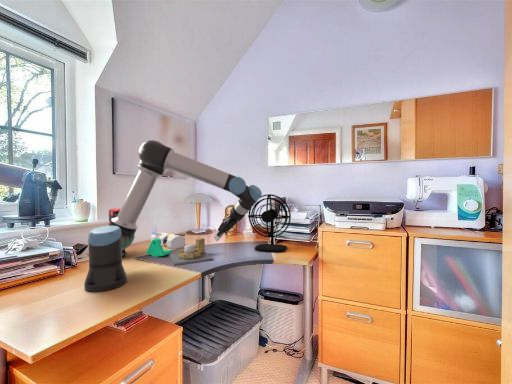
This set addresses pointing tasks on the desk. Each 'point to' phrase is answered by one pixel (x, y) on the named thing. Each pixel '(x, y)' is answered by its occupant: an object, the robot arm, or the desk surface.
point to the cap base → (180, 261)
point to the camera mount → (157, 248)
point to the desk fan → (270, 217)
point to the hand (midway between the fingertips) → (216, 239)
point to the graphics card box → (113, 214)
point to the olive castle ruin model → (199, 249)
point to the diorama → (169, 239)
